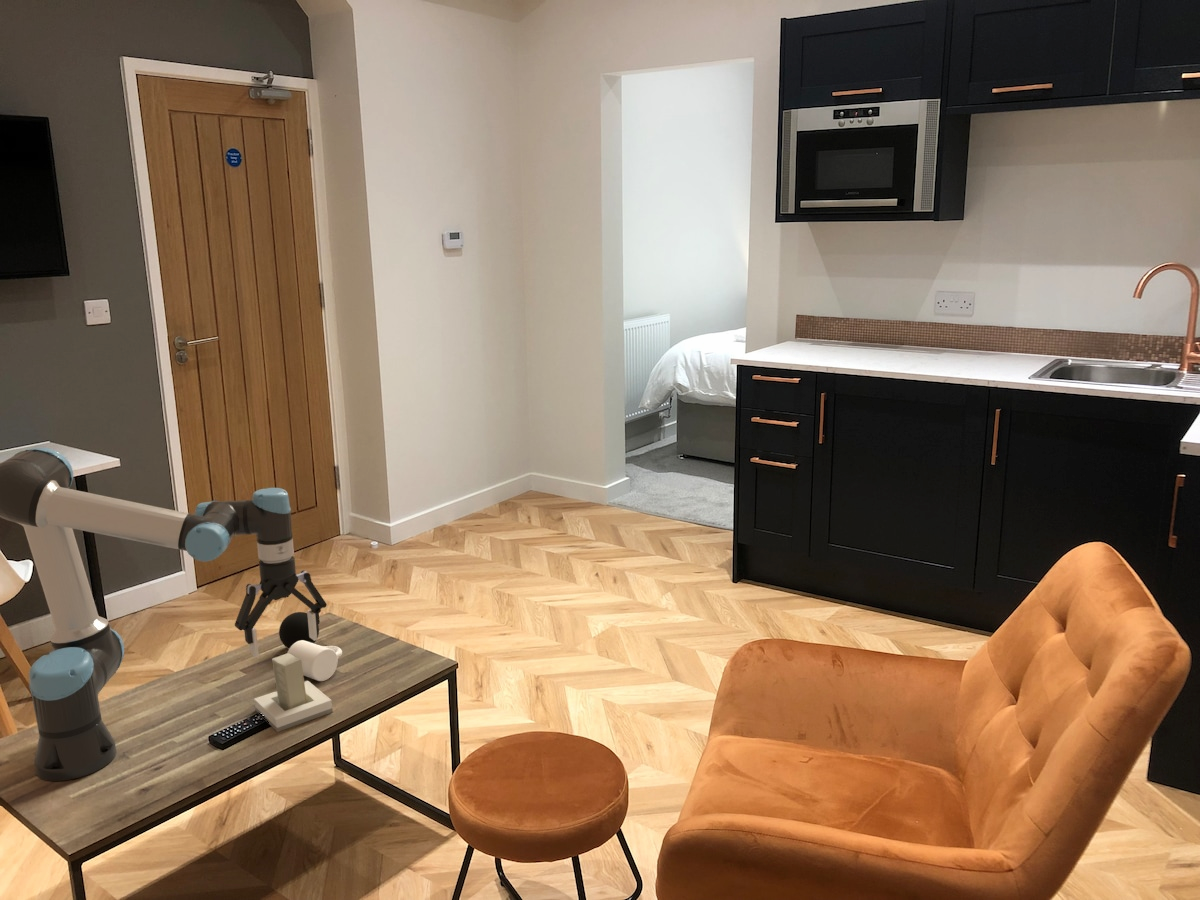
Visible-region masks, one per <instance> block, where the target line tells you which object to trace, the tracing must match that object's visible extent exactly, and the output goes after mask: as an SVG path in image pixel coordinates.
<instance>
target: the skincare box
mask: <svg viewBox="0 0 1200 900" xmlns="http://www.w3.org/2000/svg"><path fill="white" fill-rule="evenodd" d="M271 660H272V661H271V662H272V668H273V674H274V681H275V687H276V688H275V689H276V691H277V696H278V703H279V706H280V707H281V708H282V709H283V710H285V711H286V710H289V709H292V708H295V707H298V706H300V705H303V704H306V703H307V699H306V691H305V684H304V682H305V676H303V670H302V662H301V659H299V658H298V657H296V656H294V655H292V654H290V653H285V654H281V655H279V656H275V657H273V658H271Z"/></svg>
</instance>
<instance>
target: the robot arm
mask: <svg viewBox="0 0 1200 900" xmlns="http://www.w3.org/2000/svg"><path fill="white" fill-rule="evenodd" d="M73 481H74V470H73V467H72V465H71V463H70V461H69V460H68V459H67V457H65V456H64V455H63V454H62V453H60V452H58V451H56V450H55V449H52V448H49V447H42V446H41V447H40V446H39V447H38V446H37V447H31V448H27V449H25V450H22V451H19V452H17V453H15V454H14V455H12V456H11V457H10V458H9V457H8V459H6V460H4V461H3V462H0V518H1V519H4V520H6V521H8V522H13V523H16V524H19V525H20V526H22V527H23V529H24V532H25V535H26V539H27V542H28V546H29V549H30V552H31V555H32V558H33V561H34V565H35V567H36V571H37V575H38V578H39V581H40V585H41V587H42V591H43V593H44V596H45V600H46V604H47V607H48V609H49V612H50V616H51V618H52V621H53V625H54V631H53V633H52V634H51V635H50V637H49V641H50V642H51V643H50V644H51V647H52V651H50V652H49V653H48V654H44V655H42V656H40V657H39V658H38V659H37V660H36V661H34V662H33V664H32V665H31V667H30V668H29V672H28V681H29V683H28V687H29V690H30V693H31V700H32V703H33V704H32V705H33V709H34V714H35V719H36V720H35V721H36V724H37V730H38V735H39V736H38V742H37V746H36V751H35V757H34V769H35V774H36V776H37V777H39V779H42V780H45V781H49V782H60V781H61V782H62V781H69V780H73V779H74V780H75V779H80V778H82V777H86V776H88V775H91V774H93V773H95V772H97V771H99V770H101V769H102V768H104V767H106V766H107V765H109V763H111V762H112V761H113V760H114V759H115V757H116V755H117V747H116V746H117V745H116V741H115V738H114V737H113V735H112V733H110V731H109V729H108V727H107V726H106V724H105V723H104V721H103V719H102V713H101V707H100V701H99V700H100V699H99V694H100V692H101V690H102V689H104V687H105V686H106V684H108V682H109V681H110V680H111V678H112V677H113V676H114V675H116V673H117V671H119V669H120V667H121V665H122V662H123V659H124V656H125V655H124V654H125V644H124V641H123V639H122V636H120V634H119V633H118V632H117V631H116V630H113V628H112V627H111V626H110V622H109V620H108V619H107V618H104V617H102V616H99V613H98V610H97V606H96V603H95V600H94V597H93V594H92V589H91V587H90V582H89V579H88V577H87V572H86V570H85V566H84V563H83V559H82V556H81V554H80V550H79V546H78V542H77V540H76V537H75V532H74V530H79V531H84V532H88V533H94V534H98V535H102V536H103V535H105V536H109V537H115V538H119V539H125V540H129V541H135V542H140V543H144V544H151V545H154V546H155V545H156V546H159V547H164V548H171V549H176V550H179V551H181V550H182V551H186V553H188V555H189V556H190V557H191V558H192V559H194V560H196V561H199V562H211V561H213V560H215V559H218V558H219V557H220V556H221V555H222V554H223V553H224V552H226V550H227V548H228V546H229V544H230V543H231V542H232V540H233V538H234V537H235V536H244V535H245V536H246V535H256V546H257V555H258V556H257V557H258V559H259V560H258V566H259V567H258V568H259V576H260V582H259V583H257V584H256V583H255V584H251V583H247V584H246V586H245V588H246V589H245V596H244V599H243V601H242V603H241V607H240V610H239V611H238V615H237V617H236V620H235V622H234V626H235V628H237V629H238V630H239V631H244V640H245V642H246V643H247V644H248V645H249V646H250V654H251V656H253V657H254V658H255V659H257V658H259V657H260V655H259V645H258V636H257V635H258V633H257V628H255V626H256V623H258V621H259V619H260V618H261V616H262V615H263V613H264V611H266V608H267V607H268V605H270V604H271V603H272V601H273V600H274V601H278V600H280V599H286V598H289V596H291V595H293V596H294V597H295V598H296V599H298V600H299V601H300V602H301V603H303V604H304V605H306V606H307V607H308V608H309V610H306V611H307V612H306V613H307V615H308V627H309V637H310V638H311V639H313V640H314V641H315V640H316V641H318V638H317V629H316V625H318V626H319V624H320V621H321V620H320V613H321V612H322V609H325V608H326V607H327V605H328V604H327V602H326V601H325V599H324V598H323V596H322V594H321V593H320V592H319V591H318V589H317V588H316V586H315V585H314V583H313V582H312V577H311V574H310V573H309V572H308V571H306V570H303V569H302V571H300V573H298V574H296V569H297V568H296V560H295V557H294V554H295V550H294V538H293V527H292V526H293V525H292V508H291V506H290V497H289V493H288V491H286V489H283V488H281V487H267V488H261V489H260V488H259V489H258V490H255V491H254V492H253V494H252V498H251V499H246V500H245V499H243V500H242V499H241V500H220V501H219V500H211V501H205V502H200V503H198V504H197V506H196V507H195V511H194V514H192V513H188V512H184V511H179V510H174V509H168V508H164V507H160V506H156V505H150V504H145V503H141V502H135V501H131V500H125V499H120V498H116V497H110V496H106V495H101V494H98V493H97V494H96V493H91V492H86V491H81V490H77V489H72V488H71V486H72V483H73ZM299 581H300V582H301V583H303V585H304V586H305V587H306V590H308V592H309V593H310V595H311V596H312V598H313V599H314V600H315V603H313V602H312V601H311V600H310V599H309V598H307V596H305V595H304V594H302V593H301V592H300V591H299V590H298V589H297V588H295V587H296V586H297V584H298V582H299ZM259 591H262V593H261V594H260V595H259V597H258V601H257V602H256V604H255V605H254V602H255V600H256V595H258V594H259ZM253 605H254V607H253Z"/></svg>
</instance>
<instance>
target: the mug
mask: <svg viewBox="0 0 1200 900" xmlns="http://www.w3.org/2000/svg"><path fill="white" fill-rule="evenodd" d="M287 653H290V654H292V655H294V656H296V657H298V658H299V659H301V662H302V670H303V677H306V678H309V679H312V680H315V681H318V682H325V681H326V680H329V678H331V677H332V676H333V675H334V674H335V671H336V670H337V667H338V663H339V662H338V659H339V658H340V657H341V656H342V655H343V650H342V649H341V648H340V647H339V646H337V645H336V646H335V645H326V646H325V645H319V644H316V643H311V642H308V641H304V640H300V641H297V642H295V643H294V644H293V645H292V646H291V647H290V648H288V650H287Z"/></svg>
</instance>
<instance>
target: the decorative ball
mask: <svg viewBox="0 0 1200 900" xmlns="http://www.w3.org/2000/svg"><path fill="white" fill-rule="evenodd" d="M319 627H320V626H319V624H318V625H316V629H317V639H318V638H319V634H320V628H319ZM278 635H279V639H280V642H281V643H282V644H283V646H285V648H287V649H289V648H290V647H291V646H292V645H293V644H294V643H295V642H297V641H300V640H304V641H308V642H311V643H314V644H316V642H317V640H315V641H314V640H313V639H311V638H310V637H309V627H308V615H307V612H305V611H296V612H293V613H290V614H289V615H287V616H286V617H285V618H284V619H283V620H282V621H281V623H280V625H279V629H278Z"/></svg>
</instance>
